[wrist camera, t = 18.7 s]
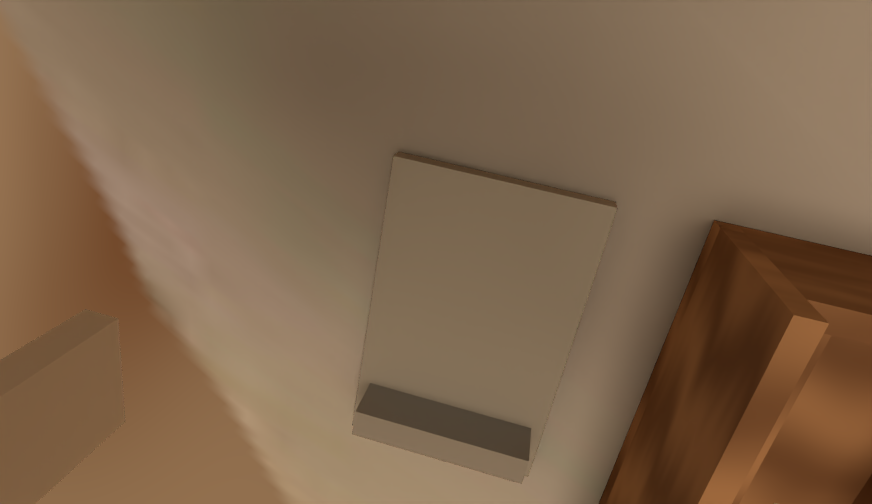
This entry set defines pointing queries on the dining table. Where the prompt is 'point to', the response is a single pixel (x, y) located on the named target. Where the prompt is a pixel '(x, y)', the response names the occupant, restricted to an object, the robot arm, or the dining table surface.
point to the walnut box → (758, 381)
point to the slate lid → (474, 312)
